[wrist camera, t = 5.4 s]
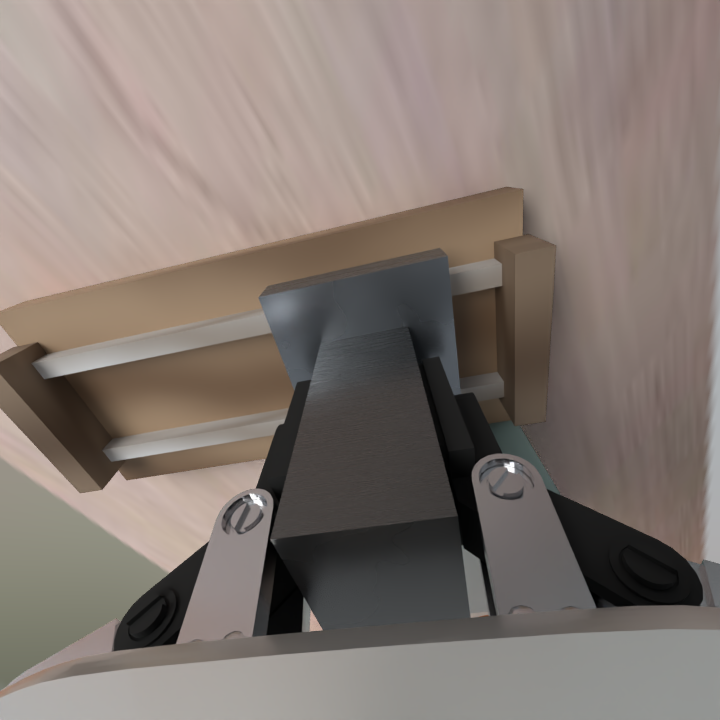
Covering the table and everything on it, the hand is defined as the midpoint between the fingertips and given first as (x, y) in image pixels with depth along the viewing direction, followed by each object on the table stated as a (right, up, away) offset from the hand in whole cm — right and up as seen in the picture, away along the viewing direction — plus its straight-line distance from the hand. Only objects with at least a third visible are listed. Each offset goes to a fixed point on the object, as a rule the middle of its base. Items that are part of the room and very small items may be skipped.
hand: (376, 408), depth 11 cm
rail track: (-4, +2, +5) cm, 7 cm away
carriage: (0, +1, +2) cm, 3 cm away
